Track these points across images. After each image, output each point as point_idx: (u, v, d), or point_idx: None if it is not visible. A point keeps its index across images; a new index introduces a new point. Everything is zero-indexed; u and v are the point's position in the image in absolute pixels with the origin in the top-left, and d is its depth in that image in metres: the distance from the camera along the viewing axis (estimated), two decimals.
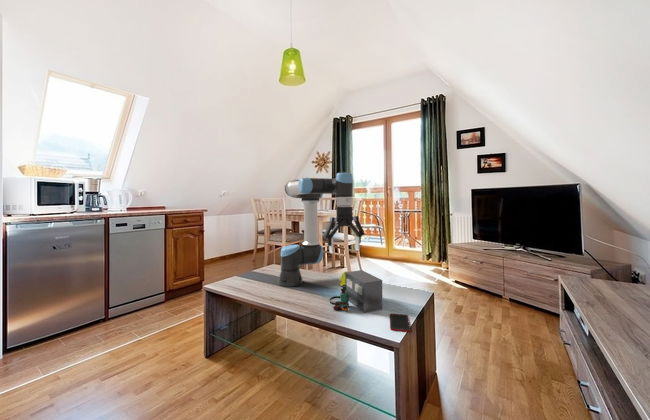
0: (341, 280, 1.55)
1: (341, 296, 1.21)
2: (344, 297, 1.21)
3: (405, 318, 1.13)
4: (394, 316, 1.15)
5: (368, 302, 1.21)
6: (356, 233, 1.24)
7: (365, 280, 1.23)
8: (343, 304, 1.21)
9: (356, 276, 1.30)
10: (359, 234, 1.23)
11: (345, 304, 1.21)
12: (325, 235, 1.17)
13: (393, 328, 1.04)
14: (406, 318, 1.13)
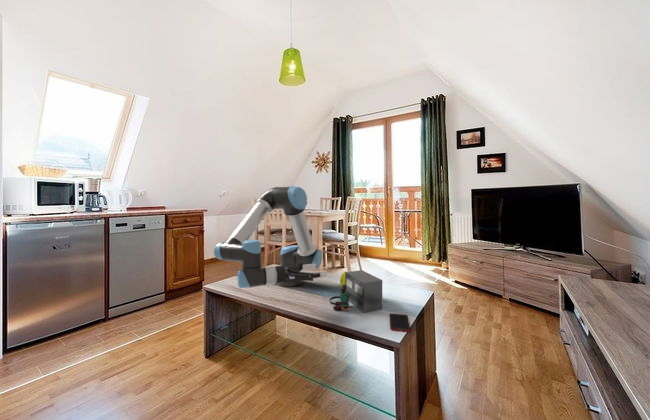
0: (341, 280, 1.55)
1: (341, 296, 1.21)
2: (344, 297, 1.21)
3: (405, 318, 1.13)
4: (394, 316, 1.15)
5: (368, 302, 1.21)
6: None
7: (365, 280, 1.23)
8: (343, 304, 1.21)
9: (356, 276, 1.30)
10: None
11: (345, 304, 1.21)
12: None
13: (393, 328, 1.04)
14: (406, 318, 1.13)
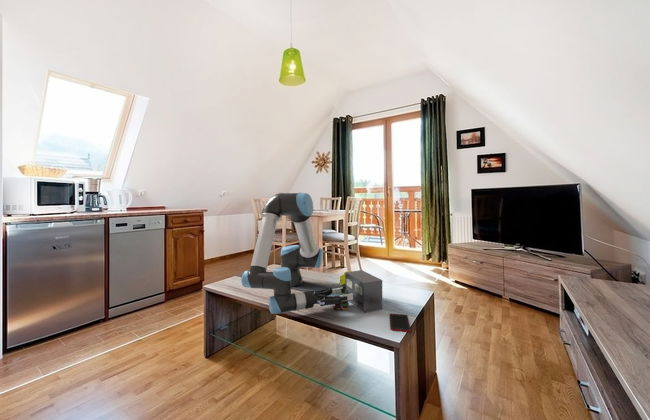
0: (340, 279, 1.57)
1: None
2: None
3: (405, 318, 1.13)
4: (394, 316, 1.15)
5: (368, 302, 1.21)
6: None
7: (365, 280, 1.23)
8: (343, 303, 1.21)
9: (356, 276, 1.30)
10: None
11: (345, 303, 1.22)
12: None
13: (393, 328, 1.04)
14: (406, 318, 1.13)
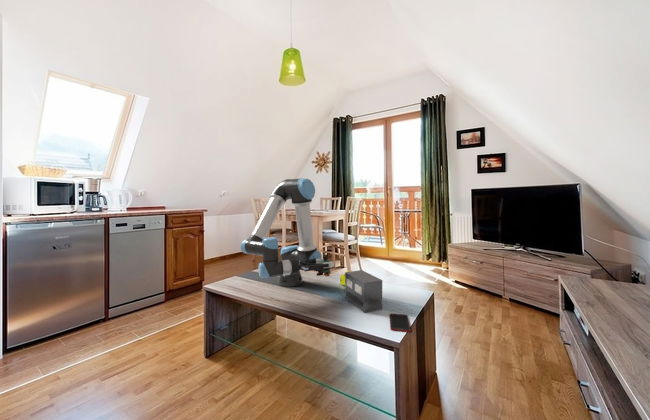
0: (340, 279, 1.58)
1: None
2: None
3: (405, 318, 1.13)
4: (394, 316, 1.15)
5: (368, 302, 1.21)
6: None
7: (365, 280, 1.23)
8: (325, 270, 1.37)
9: (356, 276, 1.30)
10: None
11: (327, 270, 1.37)
12: None
13: (393, 328, 1.04)
14: (406, 318, 1.13)
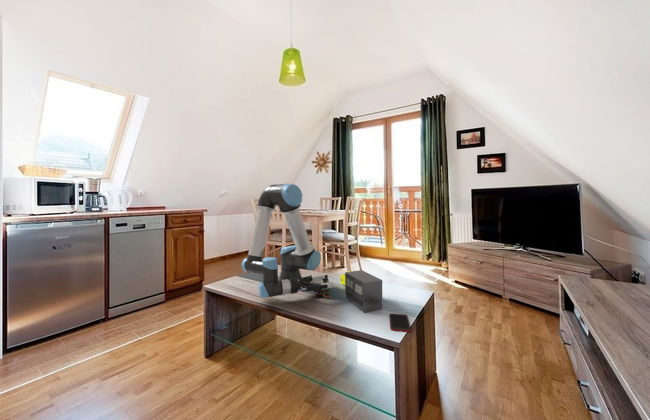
0: (341, 278, 1.59)
1: None
2: None
3: (405, 318, 1.13)
4: (394, 316, 1.15)
5: (368, 302, 1.21)
6: None
7: (365, 280, 1.23)
8: (324, 292, 1.37)
9: (356, 276, 1.30)
10: None
11: (326, 292, 1.38)
12: None
13: (393, 328, 1.04)
14: (406, 318, 1.13)
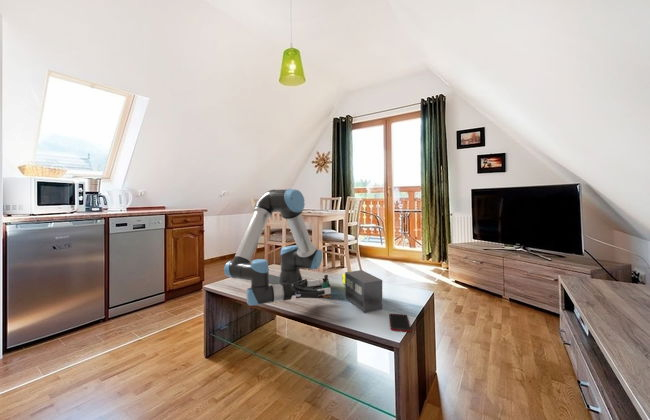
0: None
1: (322, 284, 1.38)
2: (325, 285, 1.38)
3: (405, 318, 1.13)
4: (394, 316, 1.15)
5: (368, 302, 1.21)
6: None
7: (365, 280, 1.23)
8: None
9: (356, 276, 1.30)
10: None
11: None
12: None
13: (393, 328, 1.04)
14: (406, 318, 1.13)
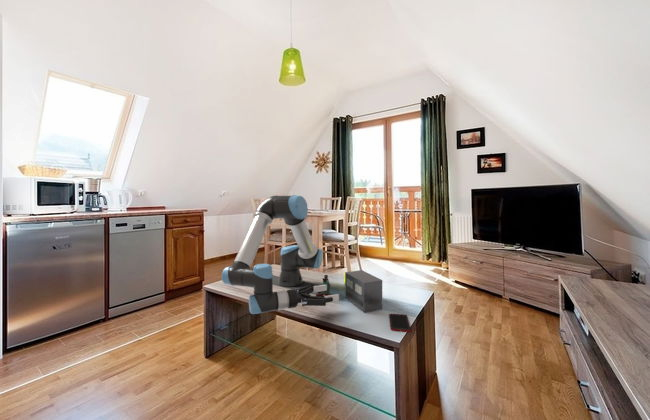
0: (344, 277, 1.62)
1: None
2: None
3: (405, 318, 1.13)
4: (394, 316, 1.15)
5: (368, 302, 1.21)
6: None
7: (365, 280, 1.23)
8: (324, 292, 1.37)
9: (356, 276, 1.30)
10: (322, 303, 1.09)
11: (326, 292, 1.38)
12: None
13: (393, 328, 1.04)
14: (406, 318, 1.13)
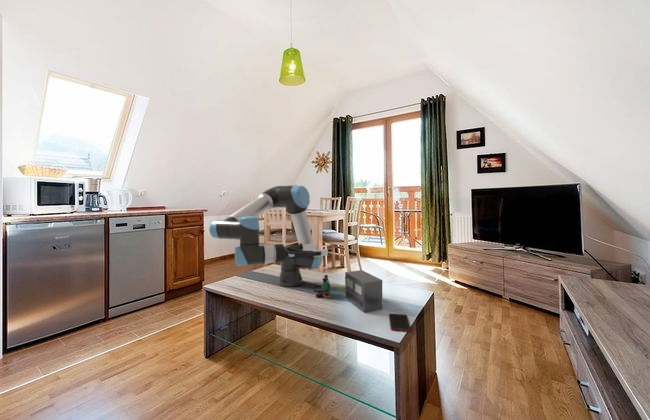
0: None
1: (322, 284, 1.38)
2: (325, 285, 1.38)
3: (405, 318, 1.13)
4: (394, 316, 1.15)
5: (368, 302, 1.21)
6: None
7: (365, 280, 1.23)
8: (324, 292, 1.37)
9: (356, 276, 1.30)
10: None
11: (326, 291, 1.38)
12: None
13: (394, 328, 1.04)
14: (406, 318, 1.13)
